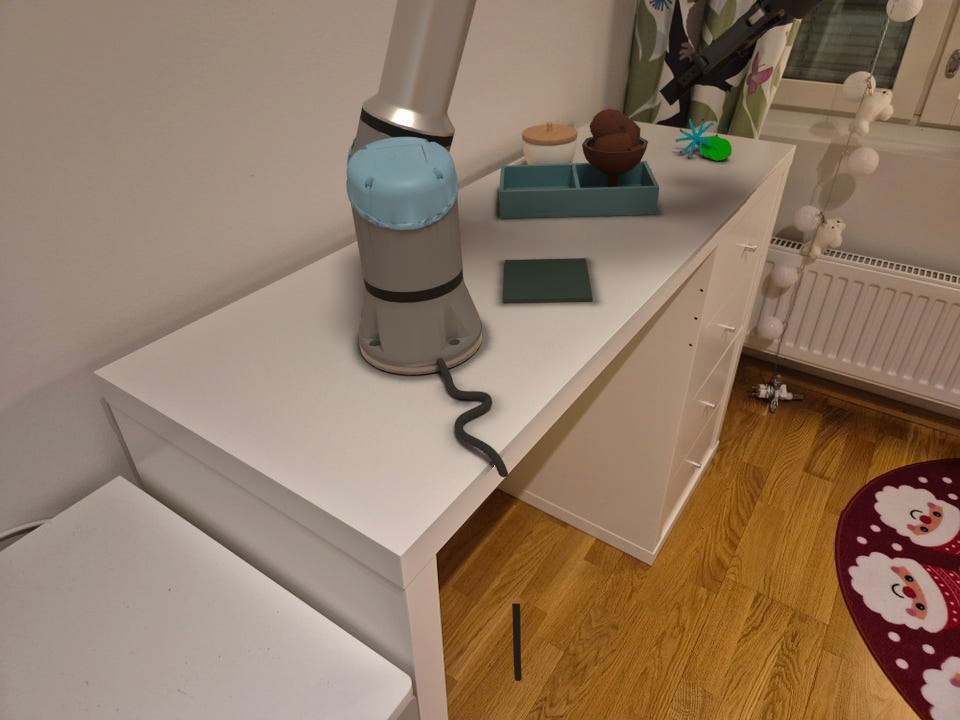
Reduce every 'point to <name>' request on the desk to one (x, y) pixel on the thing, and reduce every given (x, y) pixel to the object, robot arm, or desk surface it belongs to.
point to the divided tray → (575, 191)
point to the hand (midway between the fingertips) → (682, 88)
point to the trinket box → (549, 144)
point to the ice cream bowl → (614, 144)
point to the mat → (546, 281)
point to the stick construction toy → (707, 143)
